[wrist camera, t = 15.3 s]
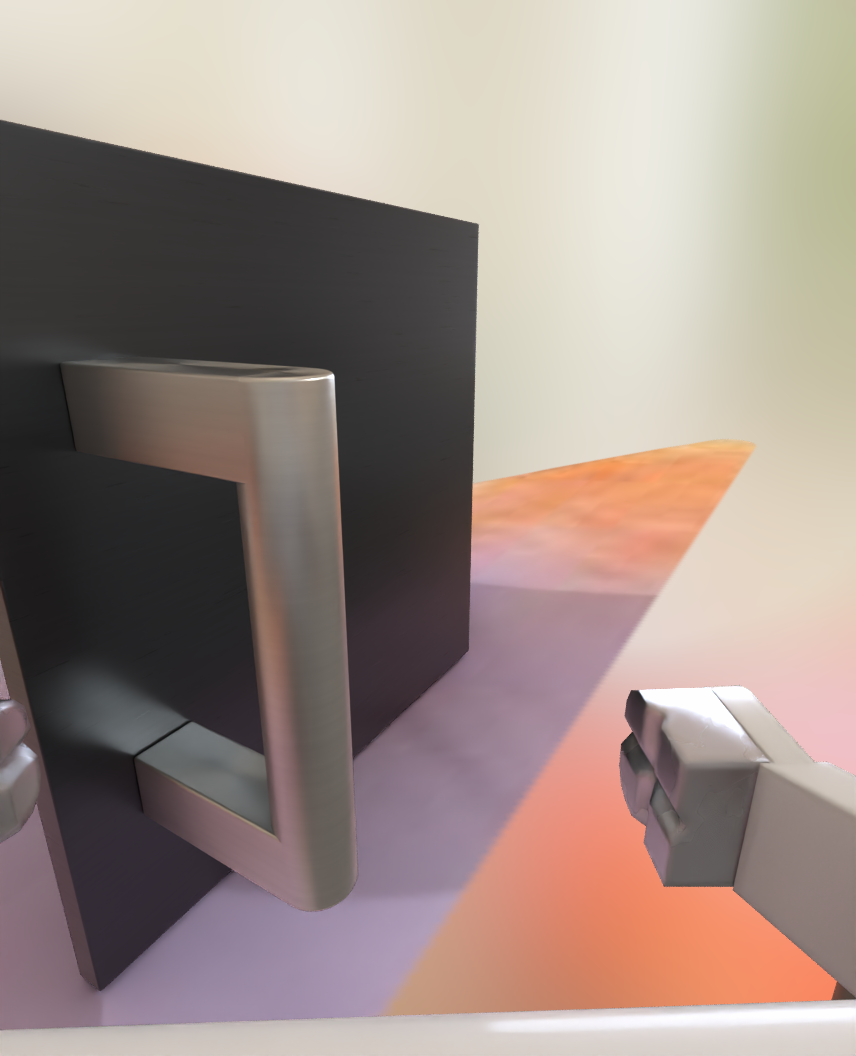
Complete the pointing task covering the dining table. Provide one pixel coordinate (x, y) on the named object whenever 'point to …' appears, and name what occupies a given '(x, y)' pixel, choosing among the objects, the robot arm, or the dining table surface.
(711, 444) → the dining table surface
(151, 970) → the dining table surface
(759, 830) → the robot arm
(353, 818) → the machine door
